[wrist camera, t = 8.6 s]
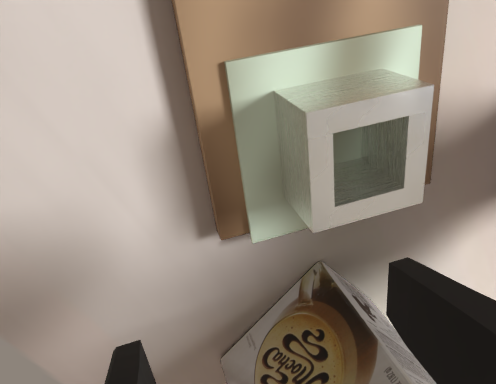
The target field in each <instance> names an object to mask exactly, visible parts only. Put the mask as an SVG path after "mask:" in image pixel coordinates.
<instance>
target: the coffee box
mask: <svg viewBox="0 0 496 384" xmlns="http://www.w3.org/2000/svg"><path fill="white" fill-rule="evenodd" d="M220 362H221V365H222V369H223V372H224V375H225V378H226V382H227V384H436V382H435V381H434V380H433V379H432V377H431V376H430V375H429V374H428V372H427V371H426V370H425V369H424V368H423V366H422V365H421V364H420V363H419V361H418V360H417V359H416V358H415V356H414V355H413V354H412V353H411V351H410V350H409V349H408V348H407V346H406V345H405V343H404V342H403V340H402V339H401V337H400V336H399V334H398V333H397V331H396V330H395V329H394V327H393V326H392V325H391V324H390V322H389V321H388V320H387V319H386V317H385V316H384V315H383V314H382V312H381V311H380V310H379V309H378V308H377V306H376V305H375V304H374V303H373V302H372V301H371V300H370V299H369V298H368V297H366V296H365V295H364V294H362V293H361V292H360V291H359V290H358V289H356V288H355V287H354V286H353V285H351V284H350V283H349V282H348V281H346V280H345V279H344V278H343V277H341V276H340V275H339V274H338V273H336V272H335V271H334V270H332V269H331V268H330V267H329V266H327V265H326V264H325V263H324V262H317V263H316V264H315V265H314V266H313V267H312V268H311V269H310V270H309V271H308V272H307V273H306V274H305V275H304V276H303V277H302V278H301V279H300V280H299V281H298V282H297V283H296V284H295V285H294V286H293V287H292V288H291V289H290V290H289V291H288V292H287V293H286V294H285V295H284V296H283V297H282V298H281V299H280V300H279V301H278V302H277V303H276V304H275V305H274V306H273V307H272V308H271V309H270V310H269V311H268V312H267V313H266V314H265V315H264V316H263V317H262V318H261V319H260V320H259V321H258V322H257V323H256V324H255V325H254V326H253V327H252V328H251V329H250V330H249V331H248V332H247V333H246V334H245V335H244V336H243V337H242V338H241V339H240V340H239V341H238V342H237V343H236V344H235V345H234V346H233V347H232V348H231V349H230V350H229V351H228V352H227V353H226V354H225V355H224V356H223V357H222V358H221V361H220Z"/></svg>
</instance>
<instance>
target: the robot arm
mask: <svg viewBox="0 0 496 384" xmlns="http://www.w3.org/2000/svg"><path fill="white" fill-rule="evenodd" d="M386 315H387V316H388V318H389V320H390V321H391V323H392V324H393V326H394V328H395V329H396V331H397V333H398V334H399V336H400V337H401V339H402V340H403V342H404V343H405V345H406V346H407V348H408V349H409V350H410V351H411V353H412V354H413V355H414V356H415V358H416V359H417V360H418V361H419V363H420V364H421V365H422V366H423V368H424V369H425V370H426V371H427V372H428V374H429V375H430V376H431V377H432V379H433V380H434V381H435V382H436V384H496V301H495V300H493V299H491V298H489V297H487V296H485V295H483V294H481V293H478V292H476V291H474V290H472V289H470V288H468V287H466V286H464V285H462V284H460V283H458V282H456V281H454V280H452V279H450V278H448V277H446V276H444V275H442V274H440V273H438V272H436V271H434V270H432V269H431V268H429V267H427V266H425V265H423V264H421V263H418V262H416V261H414V260H412V259H410V258H408V257H407V258H404V259H401V260H398V261H394V262H391V263H389V274H388V293H387V312H386ZM105 384H156V382H155V379H154V376H153V373H152V371H151V368H150V365H149V362H148V360H147V357H146V354H145V352H144V349H143V346H142V343H141V341H140V340H138V341H135V342H131V343H128V344H125V345H122V346H118V347H116V348H115V350H114V351H113V354H112V358H111V362H110V366H109V370H108V374H107V377H106V380H105Z"/></svg>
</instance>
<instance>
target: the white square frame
mask: <svg viewBox="0 0 496 384" xmlns="http://www.w3.org/2000/svg"><path fill="white" fill-rule="evenodd" d="M433 92H434V85H433V84H430V83H427V82H424V81H421V80H418V79H414V78H411V77H408V76H405V75H402V74H399V73H396V72H392V71H389V70H386V69H383V68H381V69H376V70H371V71H366V72H362V73H357V74H352V75H347V76H342V77H337V78H332V79H328V80H323V81H318V82H313V83H308V84H303V85H298V86H294V87H289V88H284V89H279V90H274V101H275V112H276V122H277V133H278V143H279V154H280V165H281V175H282V186H283V196H284V197H285V198H286V200H287V201H288V202H289V203H290V205H291V206H292V207H293V209H294V210H295V211H296V212H297V214H298V215H299V216H300V217H301V219H302V220H303V221H304V222H305V224H306V225H307V226H308V228H309V229H310V230H311V231H312V233H317V232H320V231H324V230H327V229H331V228H334V227H338V226H342V225H345V224H349V223H352V222H356V221H359V220H363V219H367V218H370V217H374V216H377V215H381V214H384V213H388V212H391V211H395V210H399V209H402V208H406V207H409V206H413V205H416V204H420V203H423V195H424V184H425V174H426V164H427V154H428V143H429V133H430V123H431V112H432V102H433ZM358 127H362V139H361V158H359V159H355V160H351V161H347V162H343V163H339V164H335V165H334V159H333V133H337V132H341V131H345V130H350V129H354V128H358Z"/></svg>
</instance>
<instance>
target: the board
mask: <svg viewBox="0 0 496 384" xmlns="http://www.w3.org/2000/svg"><path fill="white" fill-rule="evenodd" d="M172 4H173V9H174V14H175V20H176V25H177V30H178V35H179V40H180V45H181V50H182V55H183V60H184V65H185V70H186V75H187V80H188V85H189V91H190V96H191V101H192V106H193V111H194V116H195V121H196V126H197V131H198V136H199V141H200V146H201V151H202V156H203V162H204V167H205V172H206V177H207V182H208V187H209V192H210V197H211V202H212V207H213V212H214V217H215V222H216V227H217V231H218V234H219V236H220V238H221V240H224V239H228V238H232V237H235V236H239V235H243V234H246V233H250V237H251V241H252V243H257V242H261V241H264V240H268V239H271V238H275V237H279V236H282V235H286V234H289V233H293V232H297V231H300V230H304V229H307V228H308V226H307V225H306V224H305V222H304V221H303V220H302V219H301V217H300V216H299V215H298V214H297V212H296V211H295V210H294V209H293V207H292V206H291V205H290V203H289V202H288V201H287V200H286V198H285V197H284V196H283V186H282V175H281V165H280V154H279V143H278V133H277V122H276V112H275V101H274V90H279V89H284V88H289V87H294V86H298V85H303V84H308V83H313V82H318V81H323V80H328V79H332V78H337V77H342V76H347V75H352V74H357V73H362V72H366V71H371V70H376V69H381V68H383V69H386V70H389V71H392V72H396V73H399V74H402V75H405V76H408V77H411V78H414V79H418V80H421V81H424V82H427V83H430V84H433V85H434V92H433V102H432V112H431V123H430V133H429V143H428V154H427V164H426V174H425V184H424V185H426V184H429V183H430V180H431V170H432V160H433V150H434V141H435V131H436V121H437V111H438V102H439V92H440V82H441V73H442V63H443V53H444V43H445V34H446V24H447V14H448V4H449V0H172ZM361 139H362V127H358V128H354V129H350V130H345V131H341V132H337V133H333V159H334V165H335V164H339V163H343V162H347V161H351V160H355V159H359V158H361Z"/></svg>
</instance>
